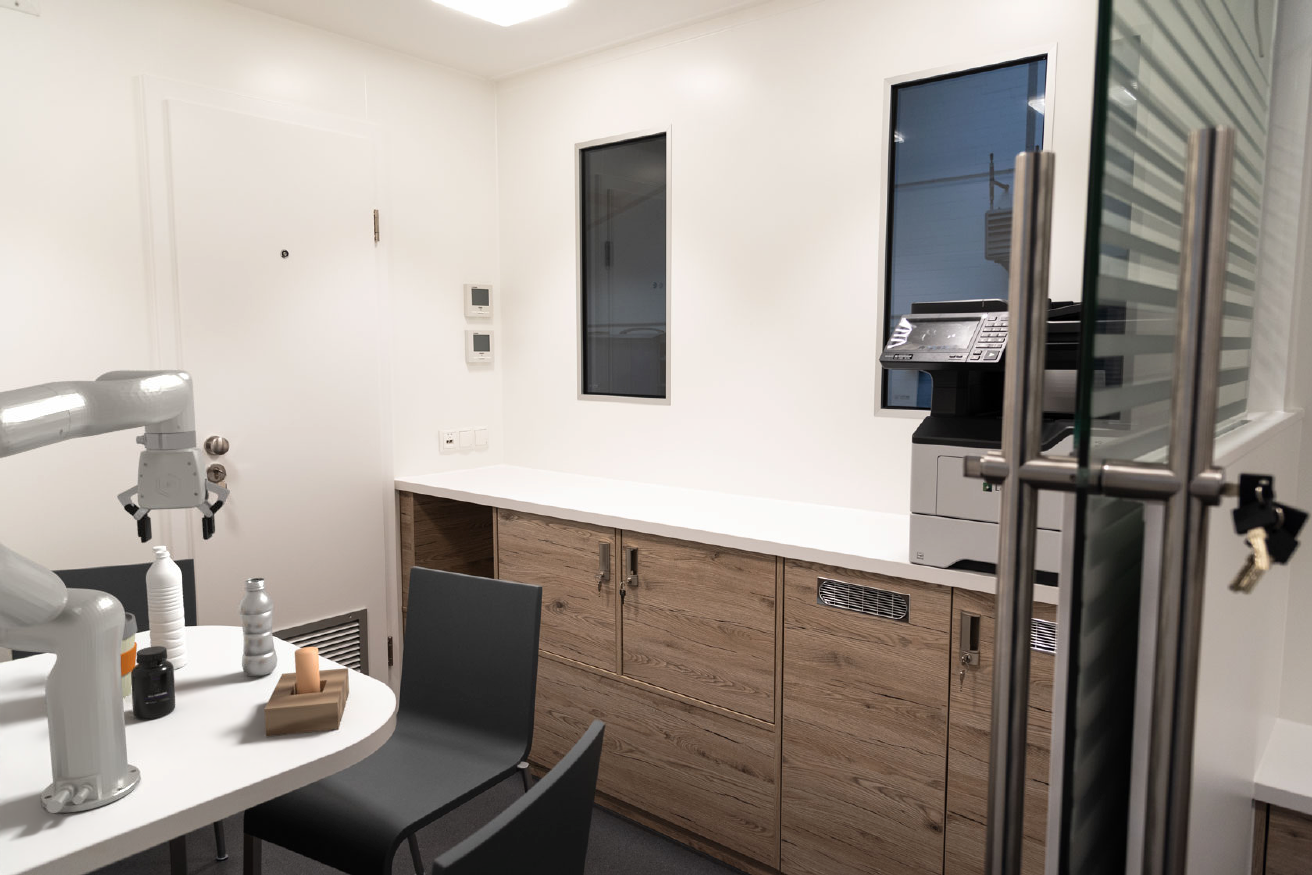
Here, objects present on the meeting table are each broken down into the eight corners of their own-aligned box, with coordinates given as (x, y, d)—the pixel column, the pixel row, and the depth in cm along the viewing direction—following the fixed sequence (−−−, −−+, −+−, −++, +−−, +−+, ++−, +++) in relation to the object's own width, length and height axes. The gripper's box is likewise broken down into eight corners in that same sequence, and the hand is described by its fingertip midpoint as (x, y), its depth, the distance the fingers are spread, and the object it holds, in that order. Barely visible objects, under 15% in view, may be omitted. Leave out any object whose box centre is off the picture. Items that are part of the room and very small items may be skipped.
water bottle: (189, 666, 176) (182, 551, 173) (154, 674, 172) (146, 556, 169) (182, 654, 183) (175, 543, 180) (148, 661, 179) (140, 548, 176)
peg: (319, 716, 153) (316, 653, 152) (296, 718, 152) (292, 655, 151) (322, 707, 157) (319, 646, 156) (300, 709, 156) (296, 647, 155)
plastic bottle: (284, 671, 174) (279, 578, 172) (254, 682, 168) (248, 586, 166) (266, 665, 177) (261, 573, 175) (235, 675, 172) (230, 581, 169)
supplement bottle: (156, 722, 151) (152, 658, 149) (124, 718, 152) (119, 655, 151) (184, 706, 157) (181, 645, 156) (153, 702, 159) (149, 642, 157)
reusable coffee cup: (56, 697, 161) (50, 622, 160) (130, 678, 170) (125, 607, 169) (73, 717, 153) (67, 638, 151) (150, 695, 162) (145, 621, 160)
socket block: (338, 729, 148) (337, 702, 148) (265, 736, 146) (264, 709, 145) (349, 692, 164) (348, 668, 163) (283, 698, 161) (282, 673, 160)
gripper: (105, 446, 137) (113, 547, 139) (220, 443, 141) (226, 541, 143) (123, 440, 145) (129, 537, 147) (231, 438, 149) (236, 532, 151)
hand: (177, 539), depth 145 cm, fingers open, 9 cm apart
